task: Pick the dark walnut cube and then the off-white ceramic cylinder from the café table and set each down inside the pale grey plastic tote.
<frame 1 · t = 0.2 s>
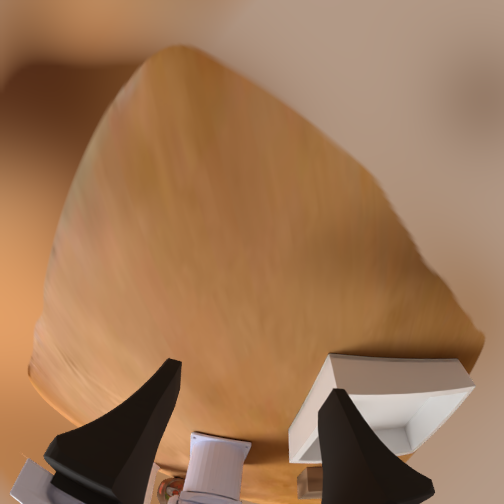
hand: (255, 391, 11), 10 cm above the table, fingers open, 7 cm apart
tin: (190, 484, 39), on the table
walnut cube: (315, 471, 33), on the table
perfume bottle: (149, 462, 36), on the table
tote: (376, 400, 25), on the table
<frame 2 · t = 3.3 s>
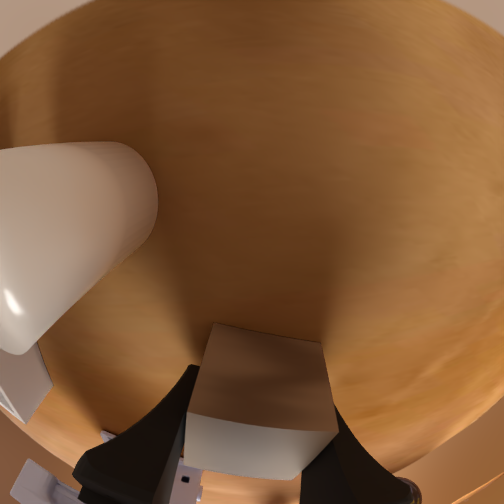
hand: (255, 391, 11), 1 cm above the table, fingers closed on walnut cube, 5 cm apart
ceramic cylinder: (106, 200, 10), on the table
tin: (354, 489, 21), on the table
walnut cube: (256, 371, 13), on the table, touching gripper
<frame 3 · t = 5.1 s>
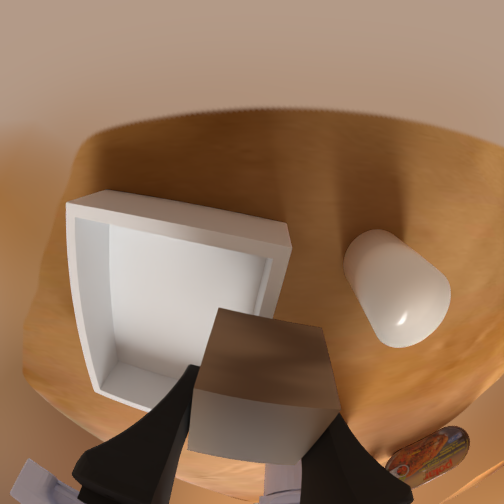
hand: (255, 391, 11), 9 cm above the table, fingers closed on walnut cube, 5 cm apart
ceramic cylinder: (374, 261, 19), on the table
tin: (421, 441, 29), on the table
walnut cube: (259, 356, 13), point 7 cm above the table, touching gripper
tote: (177, 309, 21), on the table
when the fingers open (5 cm above the table, at t = 6.8 s): walnut cube drops 2 cm, resting on tote.
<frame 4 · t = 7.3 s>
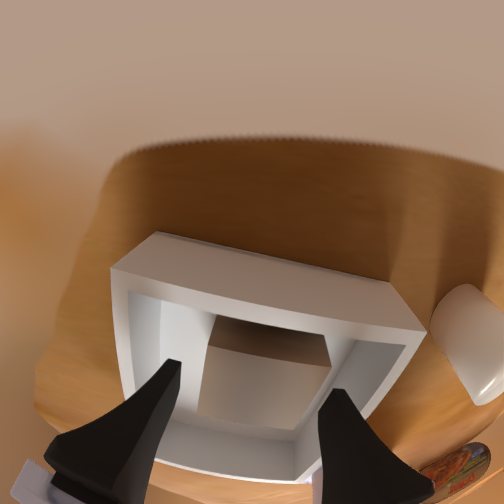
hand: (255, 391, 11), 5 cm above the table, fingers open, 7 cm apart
ceramic cylinder: (455, 314, 15), on the table
tin: (445, 457, 26), on the table
walnut cube: (260, 330, 15), point 1 cm above the table, touching tote
tote: (246, 372, 17), on the table
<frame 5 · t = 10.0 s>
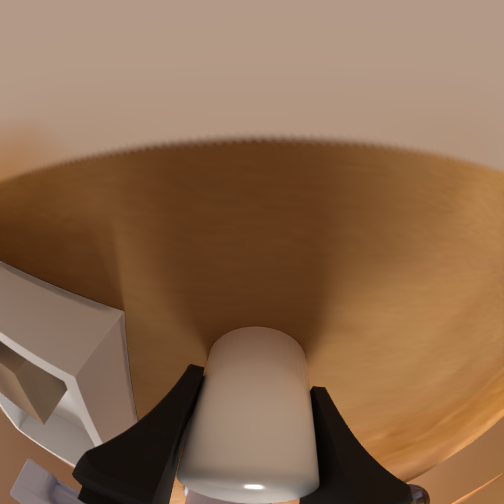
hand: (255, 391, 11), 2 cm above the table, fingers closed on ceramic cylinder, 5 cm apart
ceramic cylinder: (256, 364, 13), on the table, touching gripper
tin: (376, 495, 24), on the table
walnut cube: (43, 337, 13), point 1 cm above the table, touching tote
tote: (61, 373, 16), on the table
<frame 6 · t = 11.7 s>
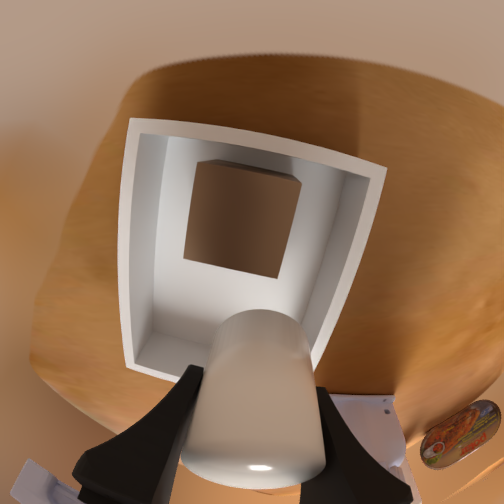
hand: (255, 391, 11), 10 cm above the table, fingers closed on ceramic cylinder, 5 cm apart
ceramic cylinder: (260, 348, 14), point 7 cm above the table, touching gripper
tin: (453, 417, 28), on the table
walnut cube: (246, 203, 18), point 1 cm above the table, touching tote
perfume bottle: (394, 450, 31), on the table
tote: (235, 260, 20), on the table
when the fingers open (5 cm above the table, at t = 13.3 s): ceramic cylinder drops 2 cm, resting on tote.
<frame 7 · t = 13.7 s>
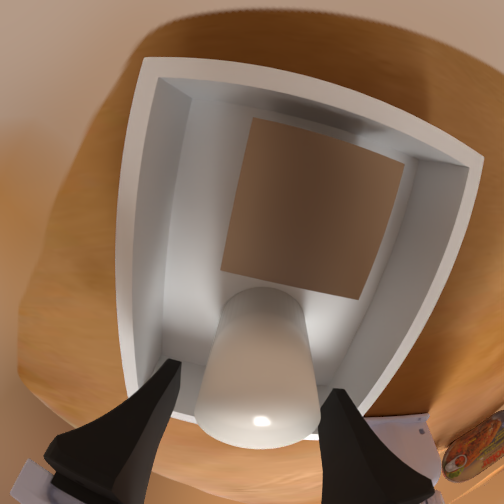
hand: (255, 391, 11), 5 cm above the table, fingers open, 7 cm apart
ceramic cylinder: (262, 324, 16), point 1 cm above the table, touching tote
tin: (474, 429, 23), on the table
walnut cube: (297, 192, 13), point 1 cm above the table, touching tote
tote: (275, 268, 15), on the table
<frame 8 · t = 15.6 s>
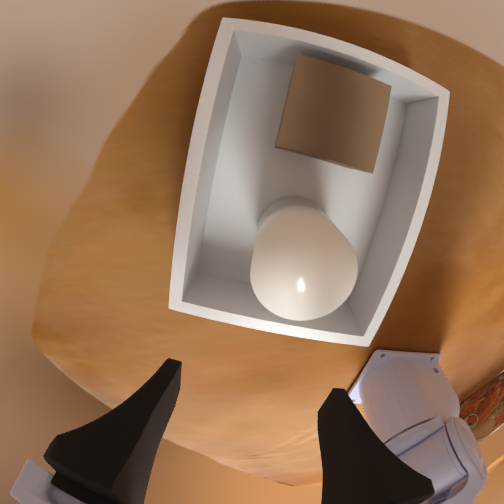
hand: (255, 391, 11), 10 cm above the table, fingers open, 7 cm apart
ceramic cylinder: (293, 231, 19), point 1 cm above the table, touching tote
tin: (482, 389, 26), on the table
walnut cube: (319, 122, 16), point 1 cm above the table, touching tote
tote: (303, 182, 18), on the table
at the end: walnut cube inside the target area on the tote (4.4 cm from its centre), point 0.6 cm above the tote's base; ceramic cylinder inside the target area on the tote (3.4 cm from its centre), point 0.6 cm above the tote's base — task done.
